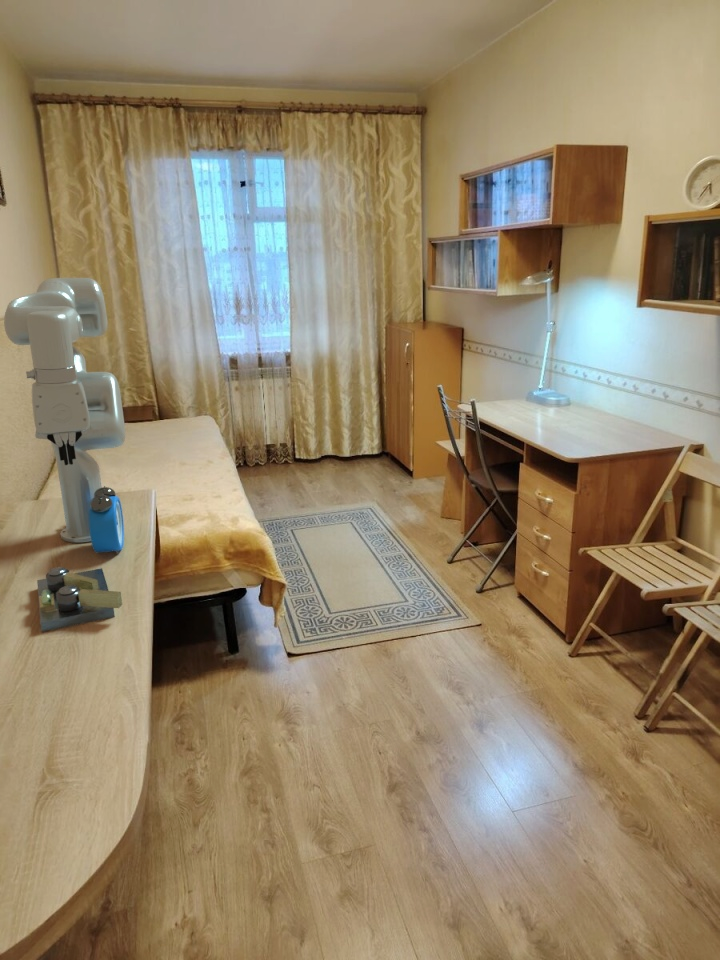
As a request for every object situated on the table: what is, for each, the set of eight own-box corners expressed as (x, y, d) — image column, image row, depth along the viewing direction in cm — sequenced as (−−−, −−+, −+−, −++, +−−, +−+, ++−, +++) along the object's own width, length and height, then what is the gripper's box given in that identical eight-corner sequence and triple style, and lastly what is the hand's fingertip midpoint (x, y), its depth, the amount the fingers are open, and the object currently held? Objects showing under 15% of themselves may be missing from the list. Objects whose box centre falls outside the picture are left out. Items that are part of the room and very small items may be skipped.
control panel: (38, 588, 143) (35, 569, 141) (103, 576, 148) (100, 558, 147) (41, 632, 126) (38, 611, 124) (114, 616, 131) (112, 596, 130)
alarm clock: (120, 559, 157) (113, 499, 152) (92, 562, 155) (84, 501, 151) (125, 538, 169) (119, 482, 164) (99, 541, 168) (92, 483, 163)
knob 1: (43, 588, 138) (40, 572, 137) (60, 580, 141) (58, 564, 140) (88, 601, 132) (85, 584, 131) (105, 591, 136) (103, 575, 135)
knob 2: (53, 610, 129) (50, 593, 128) (66, 599, 133) (63, 583, 132) (115, 614, 127) (113, 597, 126) (126, 603, 131) (124, 587, 130)
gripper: (13, 382, 127) (29, 473, 133) (97, 376, 133) (108, 463, 139) (14, 374, 133) (28, 462, 139) (94, 369, 139) (104, 453, 145)
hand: (68, 462), depth 139 cm, fingers closed
